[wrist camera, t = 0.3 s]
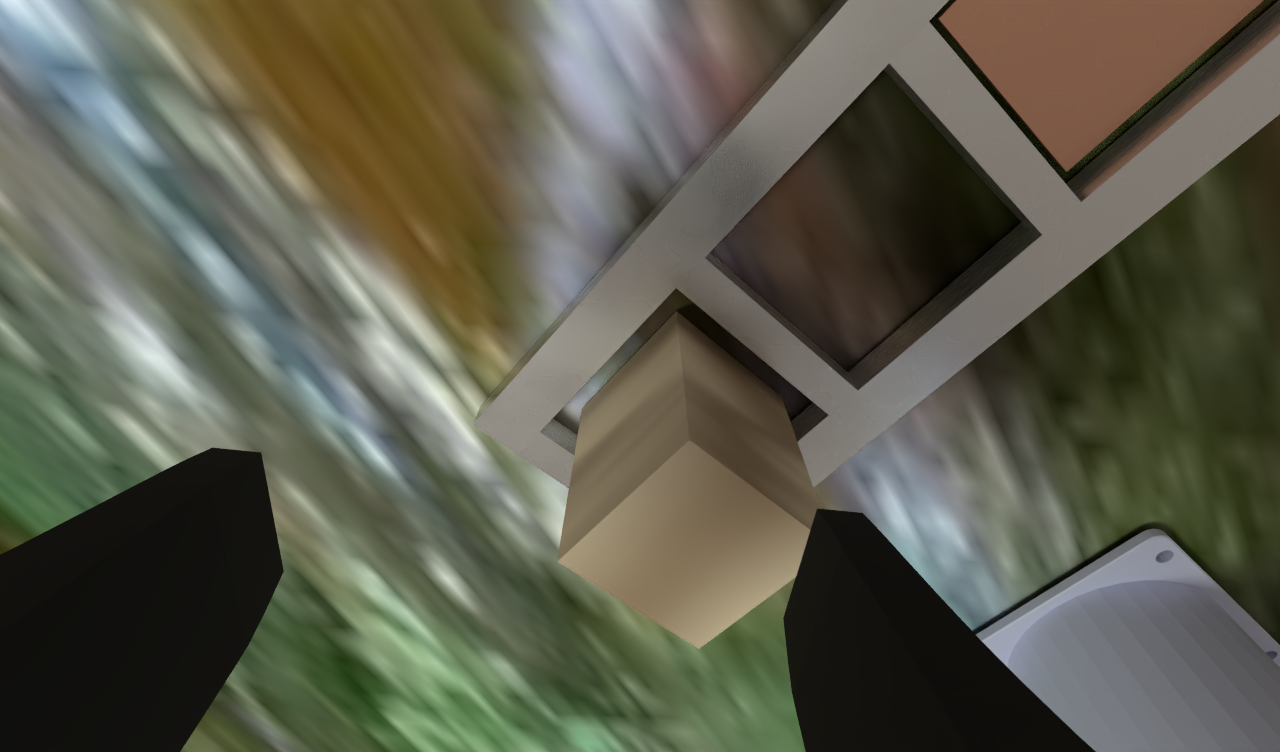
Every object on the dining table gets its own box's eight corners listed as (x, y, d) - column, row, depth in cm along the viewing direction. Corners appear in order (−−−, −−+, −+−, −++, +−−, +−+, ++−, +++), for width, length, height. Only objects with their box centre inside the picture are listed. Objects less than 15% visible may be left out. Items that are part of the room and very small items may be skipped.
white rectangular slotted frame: (1371, 2, 14) (1420, 1, 13) (699, 553, 22) (702, 576, 21) (1162, -373, 11) (1206, -405, 10) (481, 405, 19) (472, 424, 18)
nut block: (781, 396, 19) (834, 547, 14) (685, 482, 20) (699, 648, 15) (676, 310, 18) (689, 440, 12) (581, 408, 19) (557, 561, 14)
